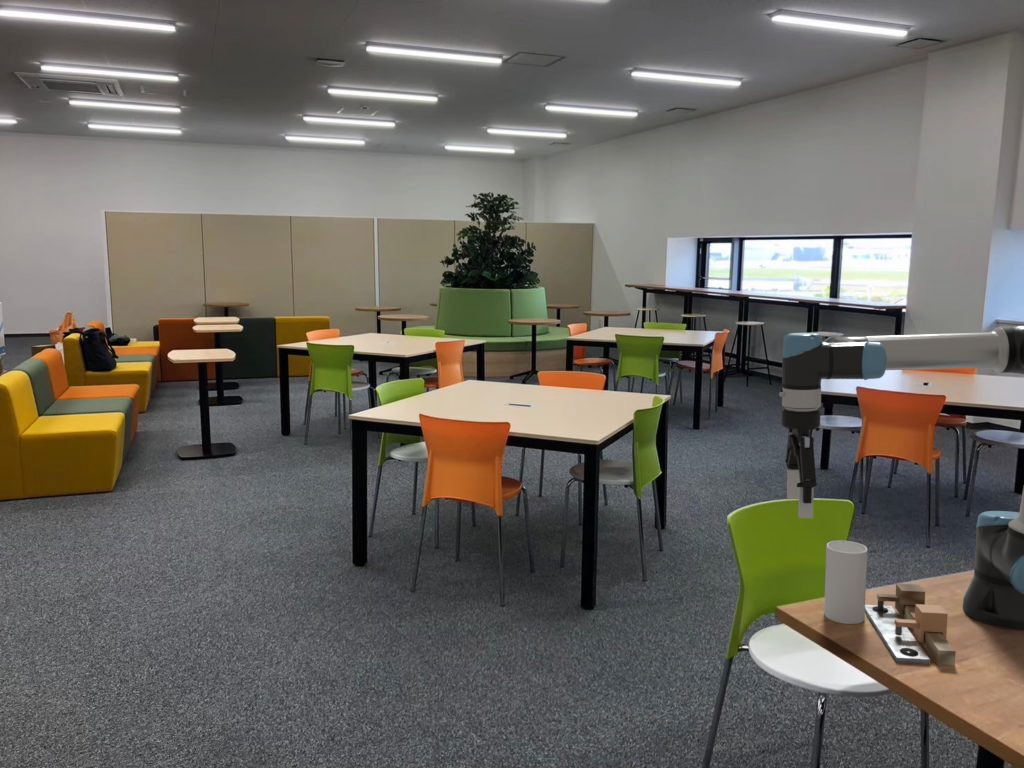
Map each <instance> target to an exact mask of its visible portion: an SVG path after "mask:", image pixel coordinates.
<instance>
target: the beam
mask: <svg viewBox="0 0 1024 768" xmlns="http://www.w3.org/2000/svg"><path fill="white" fill-rule="evenodd" d="M901 616H902V618H903V617H904V618H903V619H907V620H915V605H904V614H903V615H901ZM910 629H911V630H912V632H914V628H910ZM921 644H922V645H923V646H924V648H925V650H926V651H927V653H929V655H930V656H931V658H932V659H933V661H934V662H935V663H936V664H937V665H938V666H947V667H948V666H951V667H955V666H956V653H957V652H956V650H955V648H954V646H952V644H950V642H949V641H948V640H947V638H946V639H945V637H944V636H943V635H942V634H941V632H927V631H924V642H921Z"/></svg>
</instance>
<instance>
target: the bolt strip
mask: <svg viewBox="0 0 1024 768" xmlns="http://www.w3.org/2000/svg"><path fill="white" fill-rule="evenodd" d="M877 607H878V604H877V605H876V604H865V616H867V618H868V619H869V621H870V622H871V624H872V626H873V628H874V629H875V630H876V632H877V633H878V636H879V637H880V638H881V640H882V642H883V643H884V644H885V647H886V648H887V650H888V651H889V653H890V654H891V656H892V658H893V659H894V660H895V662H896V663H901V664H903V663H904V664H916V665H918V664H919V665H930V663H931V659H930V658H929V656H928V655H927V654H926V652H925V651H924V649H923V648H922V646H921V645H920V643H919V642H918V640H916V638H915V636H914V634H912V632H911V631H910V630H909V627H902V635H896V634H895V626H896V625H895V619H901V617H900V615H898V614H899V613H898V612H896V609H894V607H893V606H892V605H884V607H883V610H878V609H877Z"/></svg>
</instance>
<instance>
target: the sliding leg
mask: <svg viewBox="0 0 1024 768" xmlns="http://www.w3.org/2000/svg"><path fill="white" fill-rule="evenodd" d="M895 625H896V626H895V634H896V635H902V627H907V628H908V629H909V628H910V629H911V628H914V631H913V635H914V637H916V638H917V641H919V643H922V642H924V631H927V632H941V634H942V635H943V636H944V637H945V639H946V640H947V631H948V612H947V611H946V610H945V609H944V608H943V607H942V605H939V604H938V605H936V604H925V605H922V604H915V620H907V619H904V618H900V619H895Z"/></svg>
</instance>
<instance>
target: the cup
mask: <svg viewBox="0 0 1024 768" xmlns="http://www.w3.org/2000/svg"><path fill="white" fill-rule="evenodd" d="M825 549H826V551H825V552H826V554H825V580H824V583H825V585H824V606H823V607H824V609H823V611H824V612H823V613H824V616H825V618H826V619H828V620H830V621H833V622H835V623H839V624H846V625H857V624H861V623H863V622H864V621H865V616H866V613H865V605H866V595H867V594H866V590H867V569H868V568H867V566H868V547H867V546H865V545H864V544H862V543H859V542H856V541H850V540H831V541H829V542H827V543H826V548H825Z"/></svg>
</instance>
